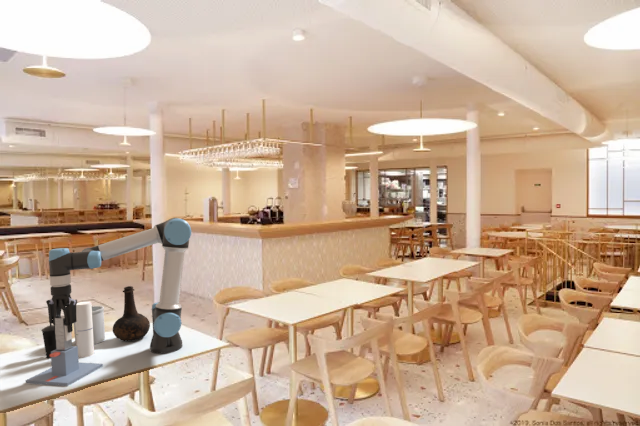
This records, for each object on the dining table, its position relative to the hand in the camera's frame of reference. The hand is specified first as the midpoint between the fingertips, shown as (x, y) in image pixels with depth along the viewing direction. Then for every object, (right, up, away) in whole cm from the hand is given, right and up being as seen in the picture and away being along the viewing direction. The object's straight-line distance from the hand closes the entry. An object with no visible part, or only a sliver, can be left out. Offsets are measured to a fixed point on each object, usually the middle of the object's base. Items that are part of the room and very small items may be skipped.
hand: (63, 339), depth 183 cm
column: (0, -12, 0) cm, 12 cm away
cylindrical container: (-4, -15, +24) cm, 28 cm away
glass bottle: (+9, -13, +46) cm, 49 cm away
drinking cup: (-19, -15, +23) cm, 34 cm away
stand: (+1, -15, +1) cm, 15 cm away
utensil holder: (-12, -14, +43) cm, 47 cm away
